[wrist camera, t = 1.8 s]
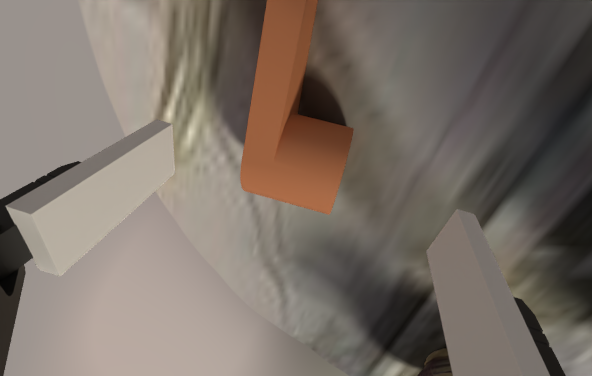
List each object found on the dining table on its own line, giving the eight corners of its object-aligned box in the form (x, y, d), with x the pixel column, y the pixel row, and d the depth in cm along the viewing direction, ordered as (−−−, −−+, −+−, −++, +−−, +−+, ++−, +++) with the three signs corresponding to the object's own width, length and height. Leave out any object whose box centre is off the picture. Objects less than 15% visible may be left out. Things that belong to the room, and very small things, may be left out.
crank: (334, 184, 31) (324, 232, 25) (265, 165, 32) (238, 207, 25) (406, -51, 20) (422, -75, 13) (295, -72, 20) (258, -105, 14)
